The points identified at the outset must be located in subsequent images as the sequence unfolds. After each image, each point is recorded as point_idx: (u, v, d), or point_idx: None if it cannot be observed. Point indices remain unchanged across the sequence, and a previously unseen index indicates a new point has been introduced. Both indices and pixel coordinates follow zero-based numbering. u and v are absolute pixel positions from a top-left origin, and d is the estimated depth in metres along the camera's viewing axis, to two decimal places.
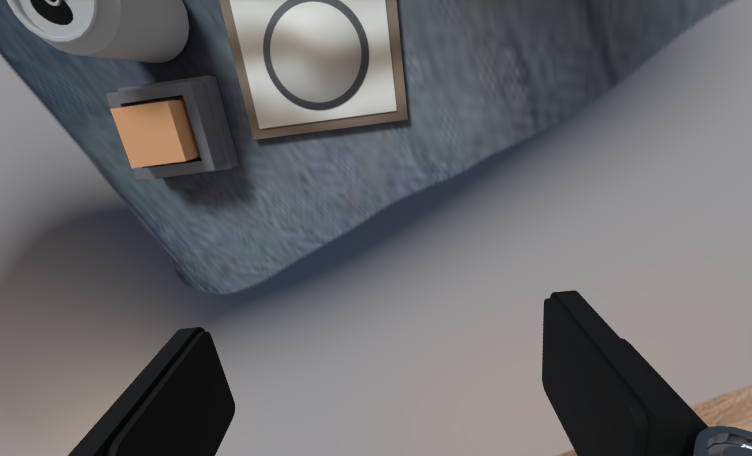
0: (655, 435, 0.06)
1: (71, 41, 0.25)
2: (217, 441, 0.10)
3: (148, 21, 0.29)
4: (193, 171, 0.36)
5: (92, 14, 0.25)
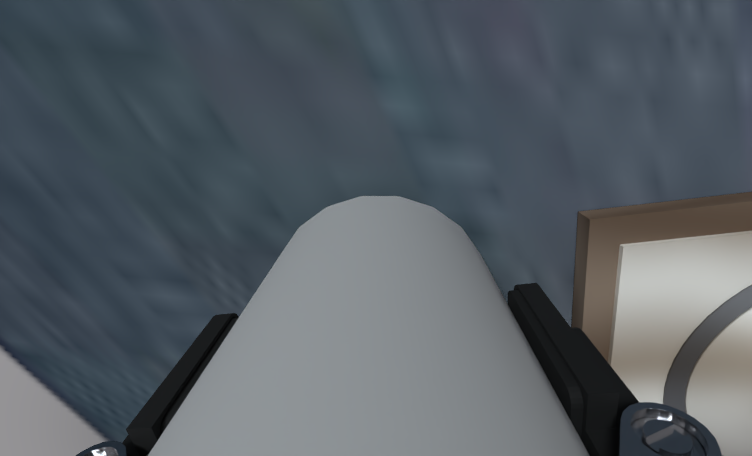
0: (589, 411, 0.06)
1: None
2: None
3: None
4: None
5: None
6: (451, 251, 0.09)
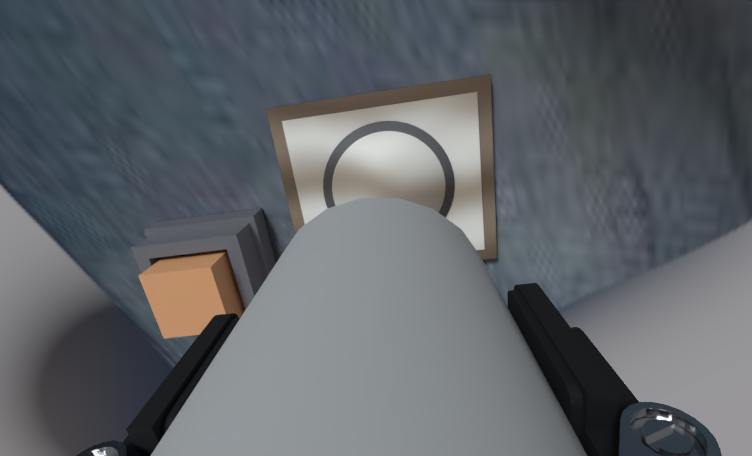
0: (589, 411, 0.06)
1: None
2: None
3: None
4: None
5: None
6: (451, 253, 0.09)
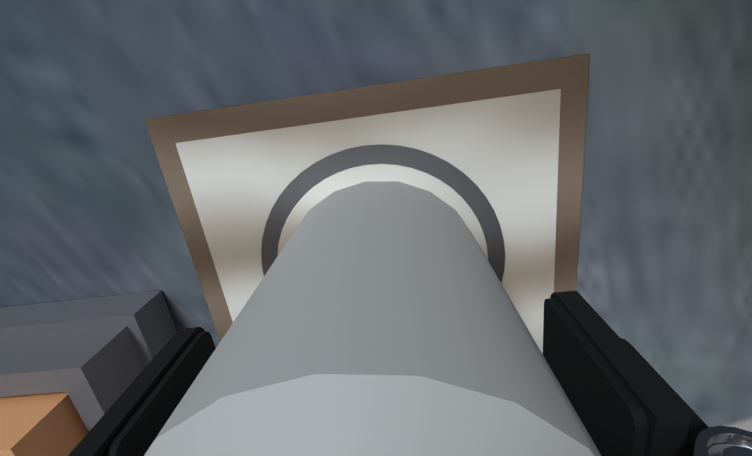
0: (655, 435, 0.06)
1: None
2: None
3: None
4: None
5: None
6: (445, 225, 0.10)
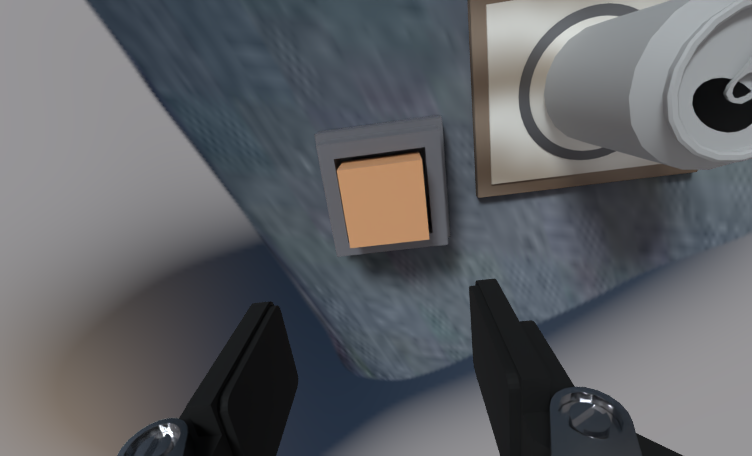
0: (525, 395, 0.07)
1: (744, 159, 0.15)
2: (288, 407, 0.11)
3: None
4: (417, 246, 0.26)
5: None
6: None
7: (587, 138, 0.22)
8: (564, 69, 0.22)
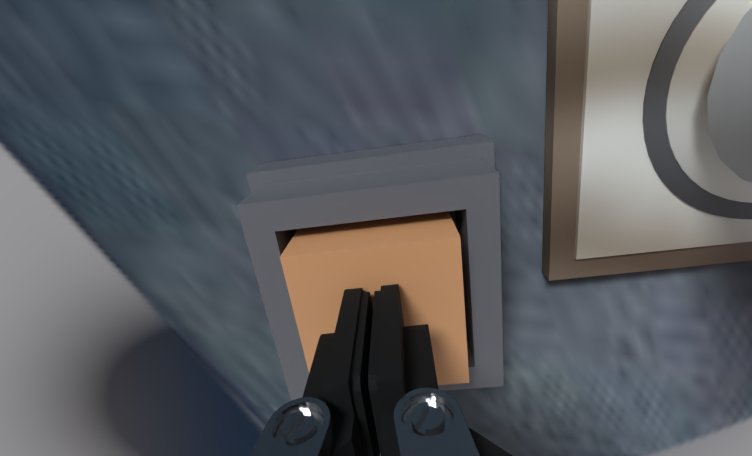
0: (382, 396, 0.07)
1: None
2: None
3: None
4: (444, 388, 0.14)
5: None
6: None
7: None
8: None
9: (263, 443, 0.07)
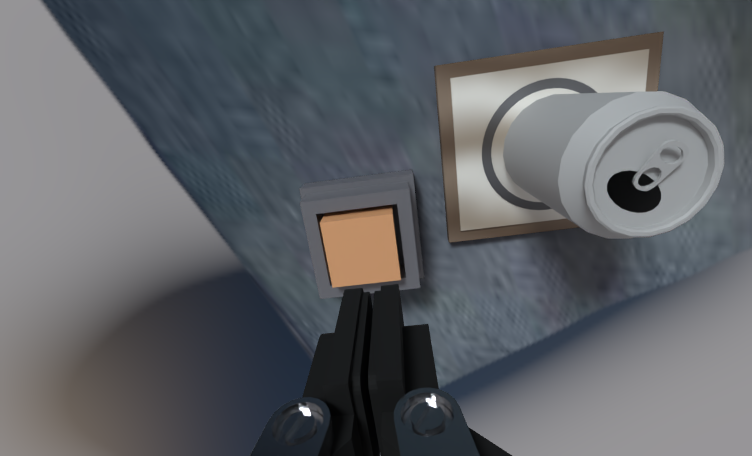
0: (382, 396, 0.07)
1: (652, 235, 0.18)
2: None
3: None
4: None
5: (703, 204, 0.18)
6: None
7: (538, 199, 0.25)
8: (516, 138, 0.25)
9: (263, 443, 0.07)
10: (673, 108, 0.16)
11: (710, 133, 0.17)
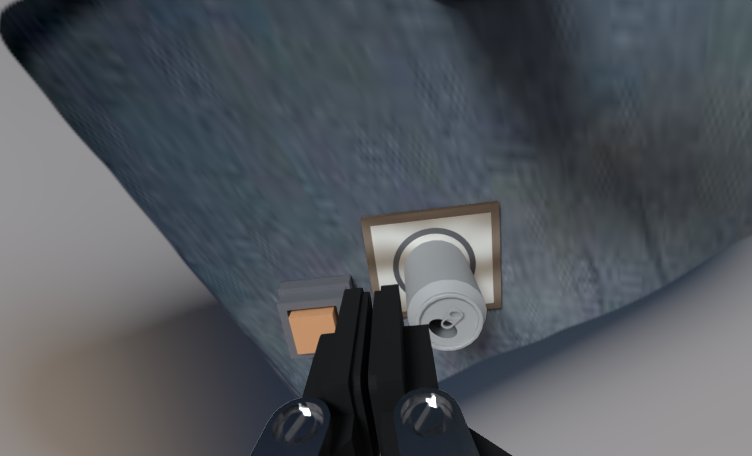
0: (383, 396, 0.07)
1: (453, 350, 0.35)
2: None
3: None
4: None
5: (476, 336, 0.34)
6: (457, 255, 0.40)
7: None
8: (405, 271, 0.42)
9: (263, 443, 0.07)
10: (452, 295, 0.33)
11: (473, 305, 0.33)
